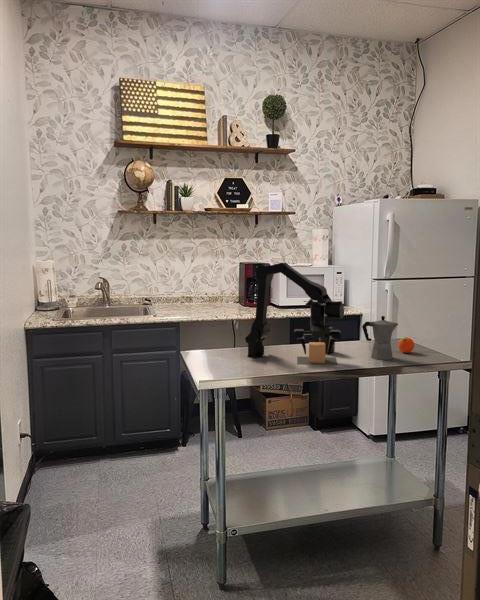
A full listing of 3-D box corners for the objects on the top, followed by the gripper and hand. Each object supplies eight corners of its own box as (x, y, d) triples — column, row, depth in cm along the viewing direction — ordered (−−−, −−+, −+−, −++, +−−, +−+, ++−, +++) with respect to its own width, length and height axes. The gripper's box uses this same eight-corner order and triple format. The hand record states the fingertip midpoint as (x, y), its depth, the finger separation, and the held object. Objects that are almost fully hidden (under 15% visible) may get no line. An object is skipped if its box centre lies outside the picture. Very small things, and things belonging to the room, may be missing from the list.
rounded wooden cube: (309, 362, 207) (309, 345, 206) (308, 358, 213) (308, 342, 212) (325, 362, 206) (325, 345, 205) (324, 359, 213) (324, 342, 212)
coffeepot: (393, 355, 225) (394, 314, 223) (400, 359, 216) (402, 317, 214) (358, 355, 224) (359, 314, 222) (364, 360, 215) (365, 317, 213)
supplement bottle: (334, 356, 222) (335, 329, 221) (318, 355, 224) (319, 328, 222) (334, 353, 229) (335, 326, 228) (319, 352, 230) (319, 326, 229)
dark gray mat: (297, 366, 204) (297, 364, 204) (297, 358, 218) (297, 356, 218) (338, 367, 202) (338, 365, 202) (335, 359, 216) (335, 357, 216)
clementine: (406, 355, 224) (406, 339, 223) (393, 352, 230) (393, 336, 229) (417, 353, 229) (418, 337, 228) (404, 350, 234) (404, 335, 234)
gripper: (294, 319, 201) (293, 358, 203) (342, 320, 199) (341, 359, 201) (294, 315, 212) (293, 352, 214) (340, 316, 210) (339, 353, 212)
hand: (316, 354), depth 210 cm, fingers open, 9 cm apart
